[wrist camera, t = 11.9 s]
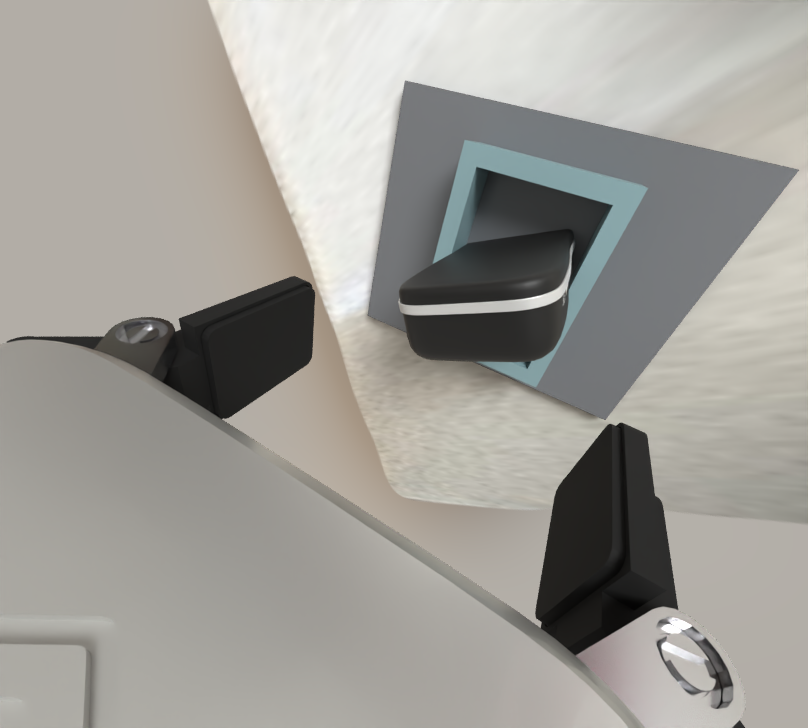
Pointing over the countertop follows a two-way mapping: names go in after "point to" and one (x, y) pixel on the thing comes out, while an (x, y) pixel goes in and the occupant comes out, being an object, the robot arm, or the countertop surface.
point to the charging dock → (569, 225)
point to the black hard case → (491, 300)
